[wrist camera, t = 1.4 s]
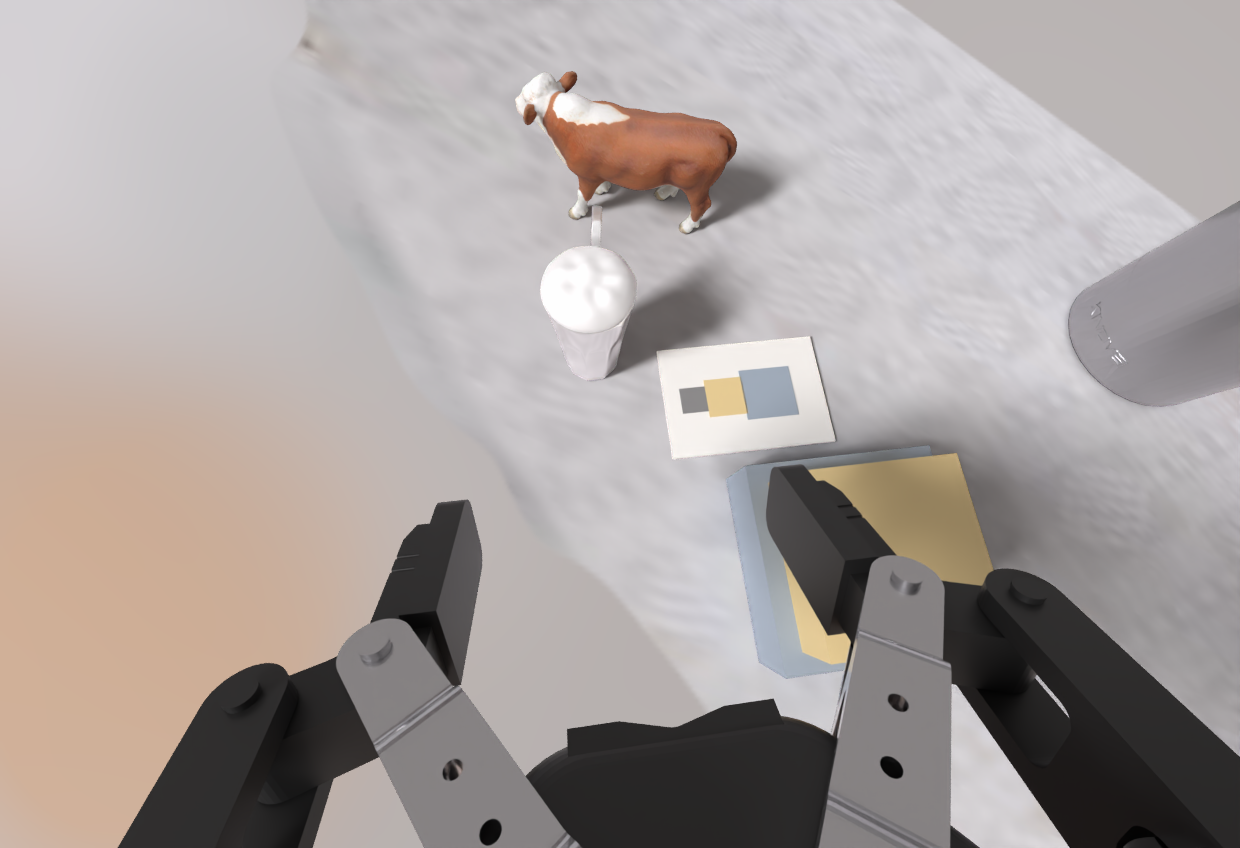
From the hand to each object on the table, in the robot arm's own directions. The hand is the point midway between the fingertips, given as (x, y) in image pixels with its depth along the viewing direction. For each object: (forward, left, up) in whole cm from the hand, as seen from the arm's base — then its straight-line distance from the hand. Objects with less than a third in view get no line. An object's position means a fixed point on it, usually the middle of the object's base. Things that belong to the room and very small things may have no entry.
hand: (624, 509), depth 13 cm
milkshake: (0, -12, -16) cm, 19 cm away
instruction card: (-9, -8, -15) cm, 20 cm away
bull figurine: (-3, -23, -16) cm, 28 cm away
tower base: (-12, +2, -15) cm, 20 cm away
